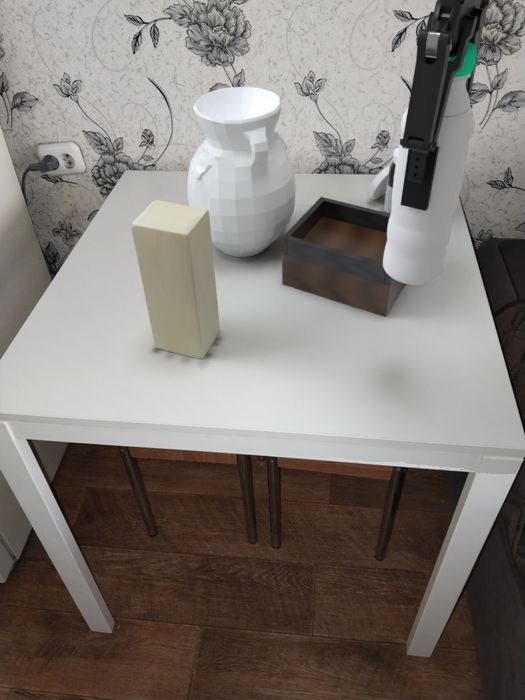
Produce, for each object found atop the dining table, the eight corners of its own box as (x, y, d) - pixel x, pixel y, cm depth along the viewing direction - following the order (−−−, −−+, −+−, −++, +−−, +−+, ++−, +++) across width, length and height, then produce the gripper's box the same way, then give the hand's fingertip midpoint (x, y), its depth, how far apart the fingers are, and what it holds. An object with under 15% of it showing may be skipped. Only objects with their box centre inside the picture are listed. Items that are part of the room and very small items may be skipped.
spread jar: (421, 228, 108) (432, 169, 100) (360, 220, 110) (365, 161, 102) (429, 196, 116) (439, 139, 108) (371, 189, 119) (377, 132, 110)
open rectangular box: (416, 268, 99) (424, 222, 93) (385, 317, 90) (392, 269, 84) (319, 241, 106) (321, 196, 99) (282, 284, 97) (281, 237, 91)
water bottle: (372, 259, 72) (397, 37, 55) (423, 248, 74) (464, 27, 56) (399, 293, 67) (436, 60, 50) (453, 280, 69) (508, 49, 51)
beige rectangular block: (223, 328, 90) (211, 205, 75) (204, 360, 85) (186, 235, 70) (176, 317, 92) (155, 196, 77) (154, 348, 87) (127, 225, 72)
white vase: (314, 253, 103) (319, 110, 86) (217, 283, 98) (201, 137, 80) (268, 205, 115) (264, 71, 98) (179, 229, 110) (158, 92, 93)
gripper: (460, -92, 55) (422, 145, 71) (381, -50, 42) (357, 226, 58) (545, -89, 52) (485, 157, 68) (487, -43, 40) (431, 245, 56)
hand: (426, 189), depth 63 cm, fingers closed on water bottle, 7 cm apart
